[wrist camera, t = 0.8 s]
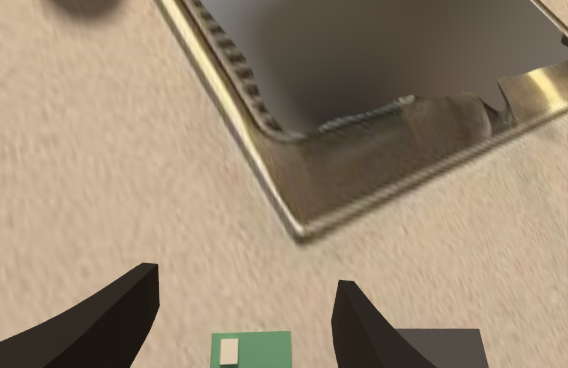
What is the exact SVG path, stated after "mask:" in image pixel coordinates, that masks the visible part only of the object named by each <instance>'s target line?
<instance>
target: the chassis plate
mask: <svg viewBox="0 0 568 368" xmlns="http://www.w3.org/2000/svg"><path fill="white" fill-rule="evenodd" d="M395 330H396V331H397V332H398V333H399V334H400V335H401V336H402V337H403V338H404V339H405V340H406V341H407V342H408V343H409V344H410V345H411V346H413V347H414V348H415V349H416V350H417V351H418V352H419V353H420V354H421V355H423V356H424V357H425V358H426V359H427V360H428V361H430V362H431V363H432V364H433V365H435V366H436V367H437V368H489V366H488V363H487V359H486V355H485V351H484V347H483V343H482V339H481V335H480V331H479V329H395Z"/></svg>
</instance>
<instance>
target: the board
mask: <svg viewBox="0 0 568 368" xmlns="http://www.w3.org/2000/svg"><path fill="white" fill-rule="evenodd" d="M210 368H292V359H291V332H290V331H277V332H245V333H213V334H212V347H211V364H210Z"/></svg>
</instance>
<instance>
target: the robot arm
mask: <svg viewBox="0 0 568 368" xmlns="http://www.w3.org/2000/svg"><path fill="white" fill-rule="evenodd" d="M159 307H160V303H159V276H158V264H152V263H141V264H140V265H138V266H136V267H135V268H133V269H132V270H130V271H129V272H127V273H126V274H124V275H123V276H121V277H120V278H118V279H117V280H115V281H114V282H112V283H111V284H109V285H108V286H106V287H105V288H103V289H102V290H100V291H99V292H97V293H95V294H94V295H92V296H90V297H89V298H87V299H85V300H84V301H82V302H80V303H79V304H77V305H75V306H74V307H72V308H70V309H68V310H67V311H65V312H63V313H61V314H59V315H57V316H55V317H53V318H51V319H49V320H47V321H45V322H43V323H41V324H39V325H37V326H35V327H33V328H31V329H28V330H26V331H24V332H22V333H19V334H17V335H15V336H12V337H10V338H8V339H6V340H3V341H1V342H0V368H130V366H131V364H132V363H133V361H134V359H135V357H136V355H137V354H138V352H139V350H140V348H141V346H142V344H143V343H144V341H145V339H146V337H147V335H148V333H149V331H150V329H151V327H152V324H153V322H154V320H155V317H156V314H157V312H158V309H159ZM331 324H332V335H333V344H334V350H335V354H336V359H337V363H338V368H437V367H436V366H435V365H433V364H432V363H431V362H430V361H428V360H427V359H426V358H425V357H424V356H423V355H421V354H420V353H419V352H418V351H417V350H416V349H415V348H414V347H413V346H411V345H410V344H409V343H408V342H407V341H406V340H405V339H404V338H403V337H402V336H401V335H400V334H399V333H398V332H397V331H396V330H395V329H394V328H393V327H392V326H391V325H390V324H389V323H388V321H387V320H386V319H385V318H384V317H383V316H382V315H381V314H380V312H379V311H378V310H377V309H376V308H375V307H374V305H373V304H372V303H371V302H370V300H369V299H368V298H367V297H366V296H365V294H364V293H363V292H362V291H361V289H360V288H359V287H358V286H357V284H356V283H355V282H354V281H346V280H339V282H338V287H337V292H336V298H335V303H334V308H333V314H332V319H331Z"/></svg>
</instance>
